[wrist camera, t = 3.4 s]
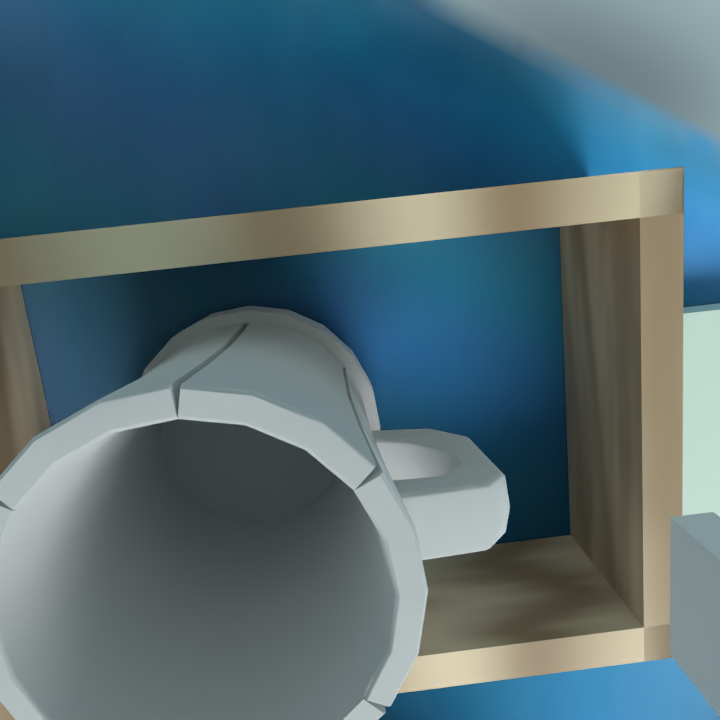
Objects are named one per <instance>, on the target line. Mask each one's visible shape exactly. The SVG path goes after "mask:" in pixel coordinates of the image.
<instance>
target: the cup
mask: <svg viewBox="0 0 720 720" xmlns="http://www.w3.org/2000/svg"><path fill="white" fill-rule="evenodd" d="M380 427H381V426H380V421H379V416H378V412H377V407H376V402H375V397H374V392H373V388H372V384H371V382H370V380H369V378H368V376H367V375H366V373H365V371H364V370H363V368H362V366H361V364H360V363H359V361H358V359H357V357H356V356H355V354H354V352H353V351H352V350H351V349H350V348H349V347H348V346H347V345H346V344H345V343H344V342H342V341H341V340H340V339H339V338H338V337H337V336H336V335H335V334H333V333H332V332H331V331H330V330H329V329H328V328H327V327H326V326H324V325H322V324H320V323H318V322H316V321H313V320H311V319H309V318H307V317H304V316H302V315H300V314H298V313H295V312H293V311H291V310H288V309H278V308H269V307H260V306H245V307H240V308H235V309H230V310H226V311H221V312H216V313H212V314H210V315H208V316H206V317H205V318H203V319H201V320H199V321H198V322H196V323H194V324H193V325H191V326H189V327H187V328H186V329H184V330H182V331H180V332H179V333H177V334H176V335H175V336H173V337H172V338H171V339H170V340H169V341H168V342H167V343H166V345H165V346H164V347H163V348H162V349H161V350H160V351H159V353H158V354H157V355H156V356H155V357H154V358H153V359H152V361H151V362H150V363H149V364H148V365H147V366H146V367H145V370H144V372H143V375H142V377H141V378H140V379H138V380H136V381H134V382H132V383H130V384H128V385H126V386H124V387H122V388H120V389H118V390H116V391H114V392H112V393H110V394H108V395H106V396H104V397H102V398H100V399H98V400H97V401H95V402H93V403H92V404H90V405H88V406H86V407H85V408H83V409H81V410H79V411H78V412H76V413H74V414H72V415H71V416H69V417H67V418H65V419H64V420H62V421H60V422H58V423H57V424H55V425H53V426H52V427H50V428H48V429H46V430H45V431H43V432H41V433H39V434H38V435H36V436H34V437H33V438H32V439H31V440H30V441H29V443H28V444H27V445H26V446H25V447H24V448H23V449H22V451H21V452H20V453H19V454H18V455H17V456H16V458H15V459H14V460H13V461H12V462H11V463H10V465H9V466H8V467H7V468H6V469H5V470H4V472H3V473H2V474H1V475H0V702H1V703H2V704H3V705H4V706H5V708H6V709H7V710H8V711H9V712H10V714H11V715H12V716H13V717H14V719H15V720H378V719H379V718H380V717H382V716H383V715H384V714H385V713H386V710H385V706H388V707H389V706H391V705H392V703H393V701H394V699H395V697H396V695H397V693H398V692H399V690H400V688H401V686H402V684H403V682H404V680H405V678H406V676H407V674H408V673H409V671H410V669H411V667H412V665H413V663H414V661H415V659H416V657H417V655H418V654H419V648H420V641H421V635H422V628H423V621H424V615H425V608H426V602H427V595H428V587H427V582H426V577H425V572H424V567H423V562H422V560H427V559H434V558H440V557H447V556H453V555H459V554H466V553H472V552H479V551H485V550H487V549H489V548H491V547H492V546H493V545H494V544H495V543H496V542H497V541H498V540H499V539H500V537H501V536H502V535H503V534H504V533H505V532H506V527H507V521H508V516H509V510H510V503H509V497H508V491H507V485H506V478H505V475H504V474H503V473H502V472H501V471H500V470H499V469H498V468H497V467H496V466H495V465H494V464H493V463H492V461H491V460H490V459H489V458H488V457H487V456H486V455H485V454H484V453H483V452H482V451H481V450H480V449H479V448H478V447H477V446H476V445H475V444H474V443H473V442H472V441H471V440H470V439H469V438H468V437H467V436H462V435H457V434H452V433H448V432H443V431H438V430H433V429H403V430H380Z"/></svg>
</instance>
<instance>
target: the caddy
mask: <svg viewBox="0 0 720 720" xmlns="http://www.w3.org/2000/svg"><path fill="white" fill-rule="evenodd" d="M550 227H559V230H560V258H561V285H562V313H563V341H564V368H565V396H566V423H567V451H568V478H569V506H570V534H571V535H565V536H557V537H549V538H541V539H533V540H525V541H517V542H508V543H500V544H494V545H493V546H492V547H491V548H489V549H487V550H485V551H479V552H472V553H466V554H459V555H453V556H447V557H440V558H434V559H427V560H422V562H423V567H424V572H425V577H426V582H427V587H428V595H427V602H426V608H425V615H424V621H423V628H422V635H421V641H420V648H419V654H418V655H417V657H416V659H415V661H414V663H413V665H412V667H411V669H410V671H409V673H408V674H407V676H406V678H405V680H404V682H403V684H402V686H401V688H400V690H399V692H398V693H405V692H413V691H420V690H428V689H436V688H444V687H451V686H459V685H467V684H474V683H482V682H490V681H497V680H505V679H513V678H520V677H528V676H536V675H543V674H551V673H559V672H567V671H574V670H582V669H590V668H597V667H605V666H613V665H620V664H628V663H636V662H643V661H651V660H659V659H667V658H673V657H672V656H671V655H670V517H675V516H682V493H683V280H684V167H676V168H666V169H657V170H647V171H638V172H628V173H619V174H609V175H600V176H590V177H581V178H572V179H562V180H553V181H543V182H534V183H524V184H515V185H505V186H496V187H486V188H477V189H467V190H458V191H449V192H439V193H430V194H420V195H411V196H401V197H392V198H382V199H373V200H363V201H354V202H344V203H335V204H325V205H316V206H307V207H297V208H288V209H278V210H269V211H259V212H250V213H240V214H231V215H221V216H212V217H202V218H193V219H183V220H174V221H165V222H155V223H146V224H136V225H127V226H117V227H108V228H98V229H89V230H79V231H70V232H60V233H51V234H42V235H32V236H23V237H13V238H4V239H0V475H1V474H2V473H3V472H4V470H5V469H6V468H7V467H8V466H9V465H10V463H11V462H12V461H13V460H14V459H15V458H16V456H17V455H18V454H19V453H20V452H21V451H22V449H23V448H24V447H25V446H26V445H27V444H28V443H29V441H30V440H31V439H32V438H33V437H34V436H36V435H38V434H39V433H41V432H43V431H45V430H46V429H48V428H50V427H51V422H50V418H49V413H48V408H47V404H46V399H45V395H44V390H43V385H42V381H41V376H40V372H39V367H38V363H37V358H36V353H35V349H34V344H33V340H32V335H31V330H30V326H29V321H28V317H27V312H26V307H25V303H24V298H23V294H22V289H21V285H22V284H32V283H41V282H50V281H59V280H69V279H78V278H87V277H97V276H106V275H115V274H124V273H134V272H143V271H152V270H161V269H171V268H180V267H189V266H198V265H208V264H217V263H226V262H235V261H245V260H254V259H263V258H273V257H282V256H291V255H300V254H310V253H319V252H328V251H337V250H347V249H356V248H365V247H374V246H384V245H393V244H402V243H411V242H421V241H430V240H439V239H449V238H458V237H467V236H476V235H486V234H495V233H504V232H513V231H523V230H532V229H541V228H550ZM0 720H15V719H14V717H13V716H12V715H11V714H10V712H9V711H8V710H7V709H6V708H5V706H4V705H3V704H2V703H1V702H0Z"/></svg>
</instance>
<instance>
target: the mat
mask: <svg viewBox="0 0 720 720" xmlns="http://www.w3.org/2000/svg"><path fill="white" fill-rule="evenodd" d="M708 512H714V513H715V514H717V515H718V516H719V517H720V303H717V304H709V305H700V306H691V307H683V493H682V516H683V515H691V514H700V513H708Z"/></svg>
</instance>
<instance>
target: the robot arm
mask: <svg viewBox="0 0 720 720" xmlns="http://www.w3.org/2000/svg"><path fill="white" fill-rule="evenodd" d="M670 655H671V656H672V657H673V659H674V660H675V661H676V662H677V664H678V665H679V666H680V667H681V669H682V670H683V671H684V672H685V674H686V675H687V676H688V678H689V679H690V680H691V681H692V683H693V684H694V685H695V686H696V688H697V689H698V690H699V691H700V693H701V694H702V695H703V697H704V698H705V699H706V700H707V702H708V703H709V704H710V705H711V707H712V708H713V709H714V710H715V712H716V713H717V714H718V715H719V717H720V517H719V516H718V515H717V514H715V513H714V512H708V513H700V514H691V515H683V516H675V517H670Z"/></svg>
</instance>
